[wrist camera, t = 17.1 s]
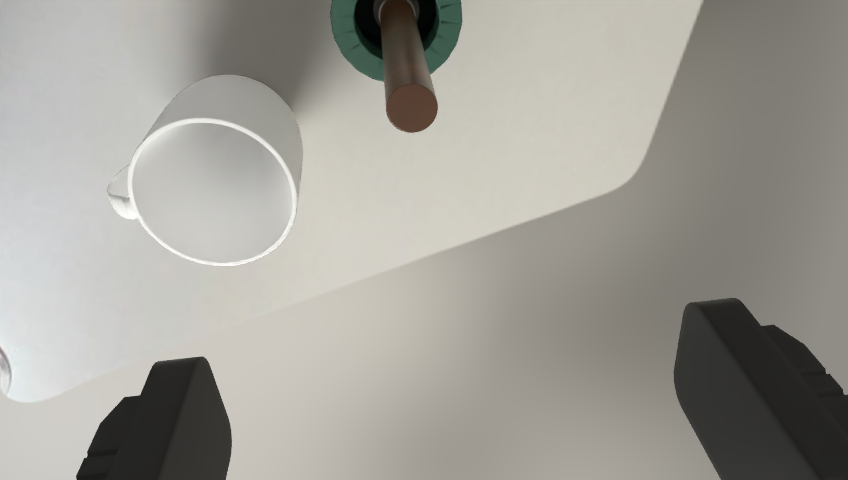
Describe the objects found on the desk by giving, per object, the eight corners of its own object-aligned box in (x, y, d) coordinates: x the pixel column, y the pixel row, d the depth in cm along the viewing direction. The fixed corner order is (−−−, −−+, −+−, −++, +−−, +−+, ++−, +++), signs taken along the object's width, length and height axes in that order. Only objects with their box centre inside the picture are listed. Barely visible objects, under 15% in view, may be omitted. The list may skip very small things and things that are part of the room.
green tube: (441, -78, 39) (458, -59, 32) (448, 35, 43) (465, 76, 36) (329, -67, 39) (320, -45, 32) (346, 46, 43) (341, 89, 35)
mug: (282, 33, 42) (254, 96, 32) (332, 152, 46) (321, 241, 36) (117, 87, 43) (39, 166, 33) (181, 199, 48) (131, 297, 37)
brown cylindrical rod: (411, -36, 40) (446, 68, 22) (415, 7, 41) (451, 139, 23) (369, -32, 40) (370, 76, 22) (374, 11, 41) (379, 147, 23)
